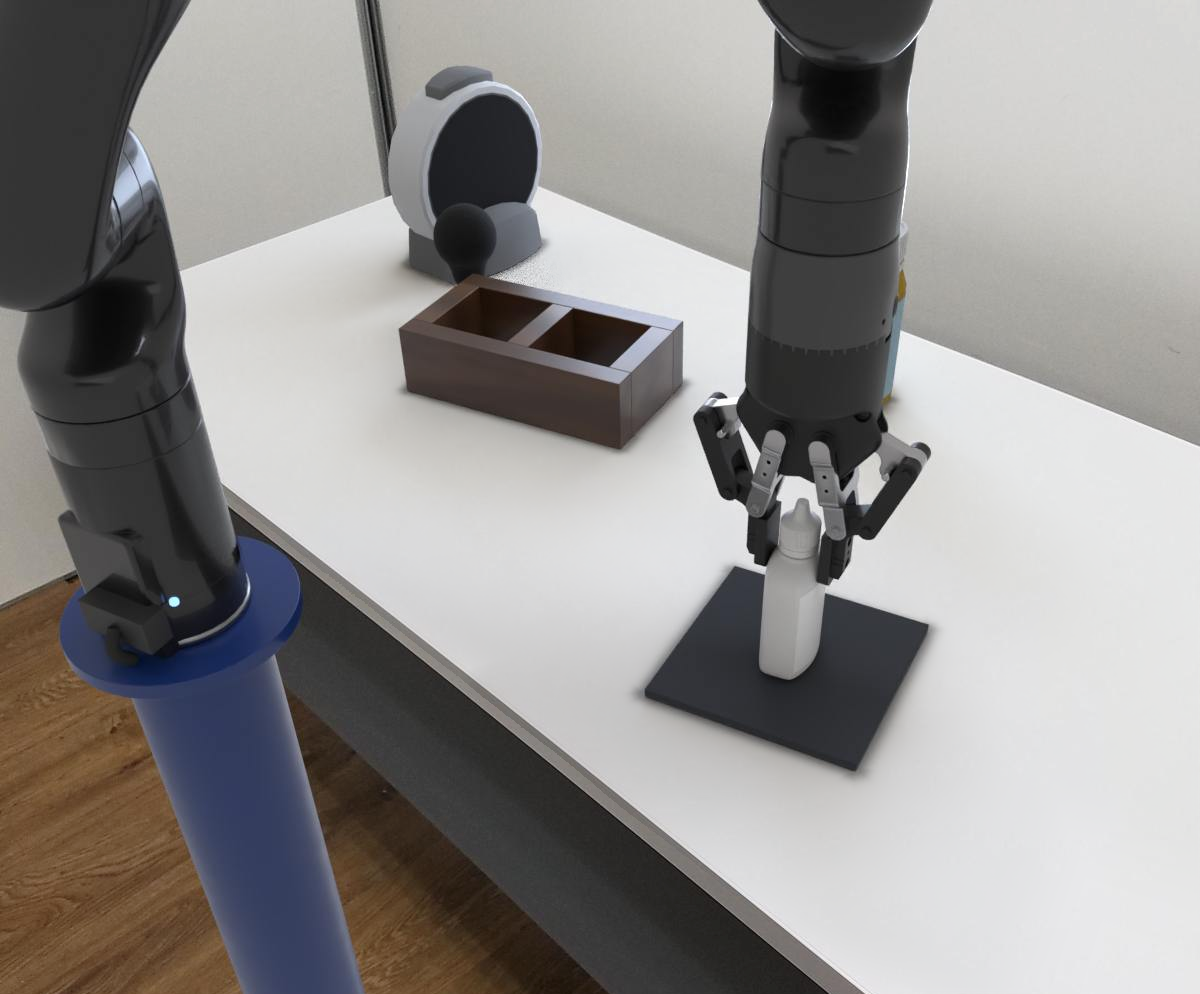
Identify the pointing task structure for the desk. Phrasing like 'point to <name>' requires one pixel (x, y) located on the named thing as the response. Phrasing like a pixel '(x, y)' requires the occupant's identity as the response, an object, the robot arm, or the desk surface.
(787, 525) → the eye dropper bottle
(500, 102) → the alarm clock
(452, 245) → the light bulb
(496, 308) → the holder
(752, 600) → the mat
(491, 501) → the desk surface
